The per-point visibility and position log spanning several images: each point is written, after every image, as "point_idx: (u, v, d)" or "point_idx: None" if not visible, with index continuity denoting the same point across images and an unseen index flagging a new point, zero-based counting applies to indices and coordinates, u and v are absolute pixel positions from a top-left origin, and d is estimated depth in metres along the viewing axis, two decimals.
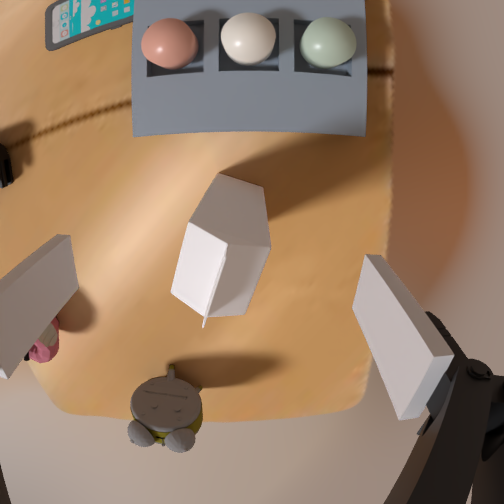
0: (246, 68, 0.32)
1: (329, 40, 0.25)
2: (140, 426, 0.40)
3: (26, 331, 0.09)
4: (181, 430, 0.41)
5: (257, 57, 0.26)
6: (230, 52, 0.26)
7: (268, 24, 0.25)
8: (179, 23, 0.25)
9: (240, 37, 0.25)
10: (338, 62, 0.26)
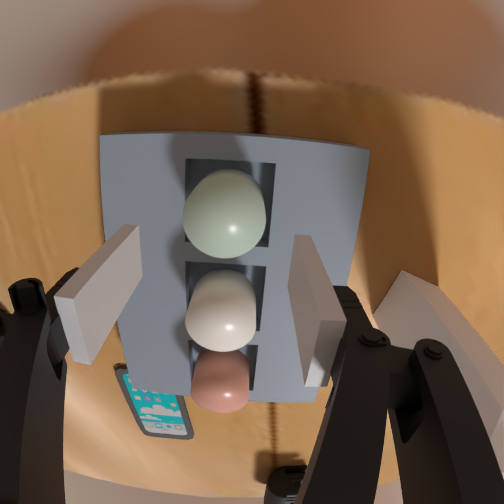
0: (255, 291, 0.28)
1: (225, 223, 0.20)
2: None
3: (106, 316, 0.11)
4: None
5: (253, 317, 0.23)
6: (243, 344, 0.24)
7: (203, 301, 0.22)
8: (198, 384, 0.26)
9: (222, 333, 0.23)
10: (263, 211, 0.20)
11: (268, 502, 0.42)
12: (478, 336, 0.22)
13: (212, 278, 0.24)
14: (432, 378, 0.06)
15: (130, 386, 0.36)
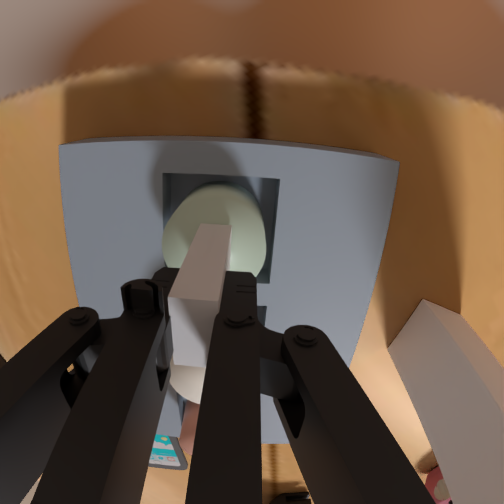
0: None
1: None
2: None
3: None
4: None
5: None
6: None
7: None
8: (188, 436, 0.21)
9: None
10: (262, 238, 0.16)
11: None
12: None
13: None
14: (307, 368, 0.07)
15: None
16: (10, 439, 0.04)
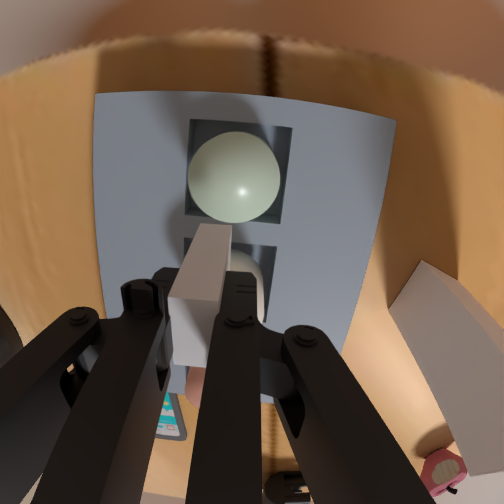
0: None
1: (234, 182, 0.18)
2: None
3: None
4: None
5: (261, 303, 0.20)
6: None
7: None
8: (194, 381, 0.22)
9: None
10: (277, 171, 0.17)
11: None
12: None
13: None
14: (307, 369, 0.07)
15: None
16: (10, 439, 0.04)
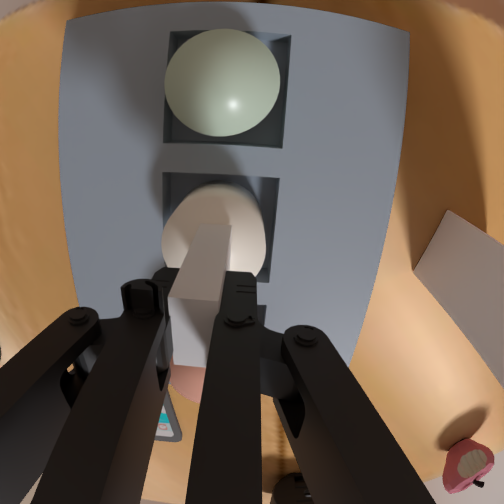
0: None
1: (222, 85, 0.13)
2: None
3: None
4: None
5: (262, 234, 0.16)
6: None
7: (187, 209, 0.15)
8: None
9: None
10: (276, 69, 0.13)
11: None
12: None
13: (203, 187, 0.17)
14: (307, 368, 0.07)
15: None
16: (10, 439, 0.04)
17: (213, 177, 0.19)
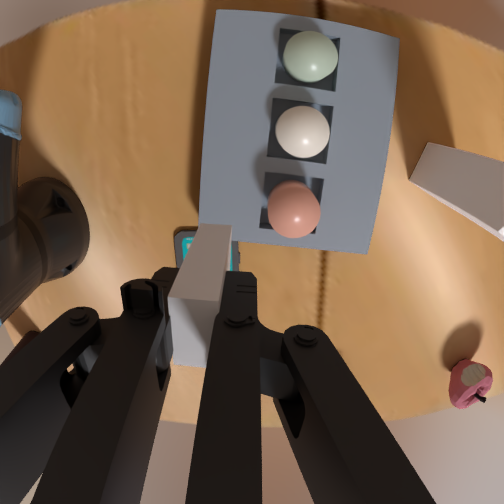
0: None
1: (312, 56, 0.26)
2: None
3: None
4: None
5: (328, 126, 0.29)
6: (319, 150, 0.30)
7: (292, 111, 0.29)
8: (278, 198, 0.31)
9: (304, 139, 0.30)
10: (336, 52, 0.26)
11: None
12: None
13: None
14: (307, 369, 0.07)
15: None
16: (10, 439, 0.04)
17: (295, 106, 0.32)
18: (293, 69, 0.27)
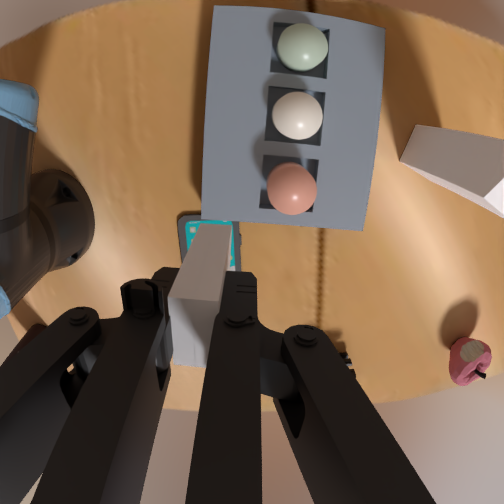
0: None
1: (304, 46, 0.28)
2: None
3: None
4: None
5: (321, 110, 0.31)
6: (313, 132, 0.32)
7: (288, 96, 0.30)
8: (276, 177, 0.33)
9: (299, 122, 0.31)
10: (326, 42, 0.28)
11: None
12: None
13: None
14: (307, 368, 0.07)
15: (190, 237, 0.43)
16: (10, 439, 0.04)
17: None
18: (287, 58, 0.29)
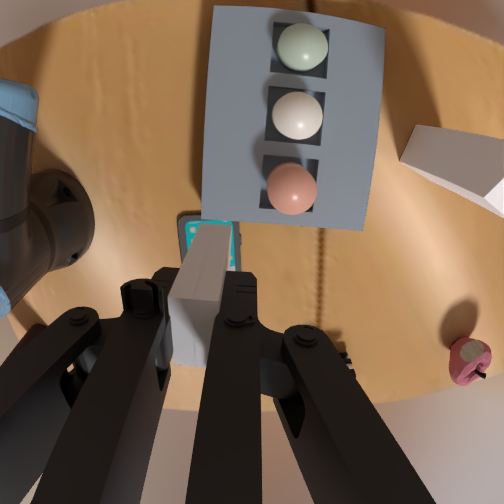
0: None
1: (304, 46, 0.28)
2: None
3: None
4: None
5: (321, 110, 0.31)
6: (313, 132, 0.32)
7: (287, 96, 0.30)
8: (276, 177, 0.33)
9: (299, 122, 0.31)
10: (326, 42, 0.28)
11: None
12: None
13: None
14: (307, 368, 0.07)
15: (190, 237, 0.43)
16: (10, 439, 0.04)
17: None
18: (287, 58, 0.29)
